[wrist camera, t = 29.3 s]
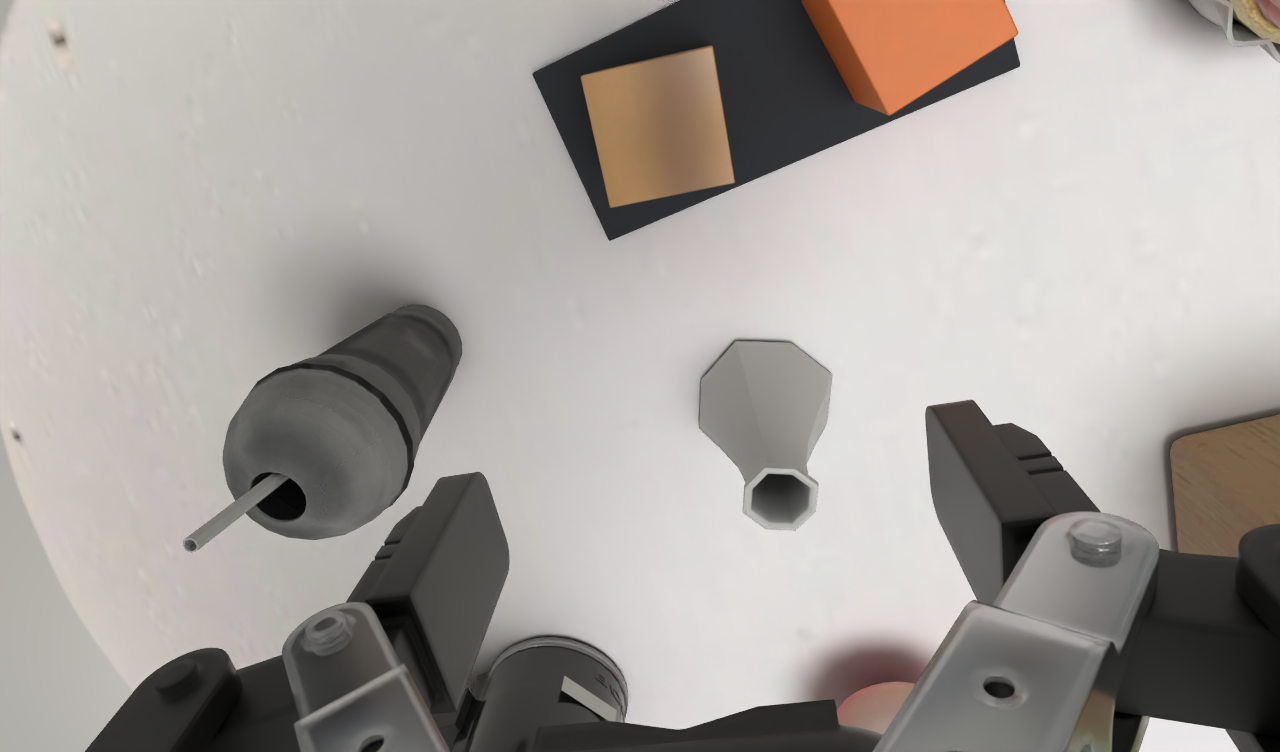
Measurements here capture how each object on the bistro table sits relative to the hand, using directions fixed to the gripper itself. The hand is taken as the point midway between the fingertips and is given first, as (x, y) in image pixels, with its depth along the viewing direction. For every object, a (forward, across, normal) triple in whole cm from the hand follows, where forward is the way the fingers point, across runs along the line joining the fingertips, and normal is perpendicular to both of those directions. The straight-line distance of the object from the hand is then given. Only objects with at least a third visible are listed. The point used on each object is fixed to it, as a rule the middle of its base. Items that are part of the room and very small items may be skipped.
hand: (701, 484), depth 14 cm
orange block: (+26, -9, -6) cm, 28 cm away
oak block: (+26, +1, -4) cm, 26 cm away
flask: (+26, -1, +11) cm, 29 cm away
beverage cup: (+26, +16, +4) cm, 31 cm away
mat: (+26, -4, -5) cm, 27 cm away
